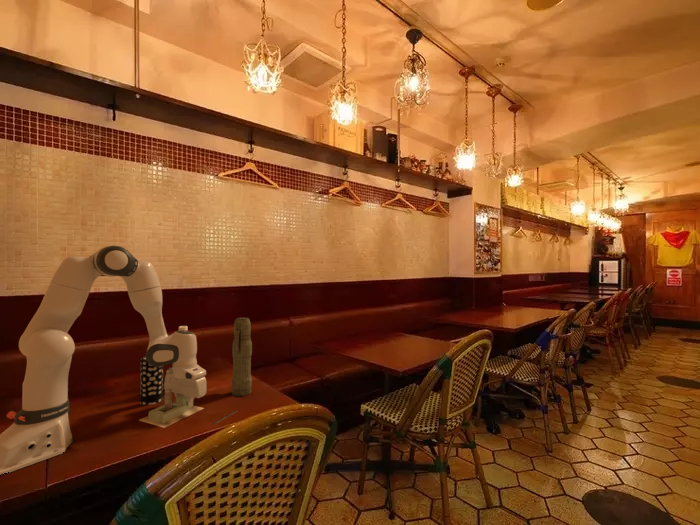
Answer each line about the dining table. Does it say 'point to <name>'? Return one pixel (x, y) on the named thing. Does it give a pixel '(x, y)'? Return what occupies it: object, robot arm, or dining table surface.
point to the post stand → (168, 407)
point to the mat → (225, 417)
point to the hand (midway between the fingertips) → (184, 404)
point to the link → (177, 410)
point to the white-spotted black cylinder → (150, 383)
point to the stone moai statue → (242, 357)
